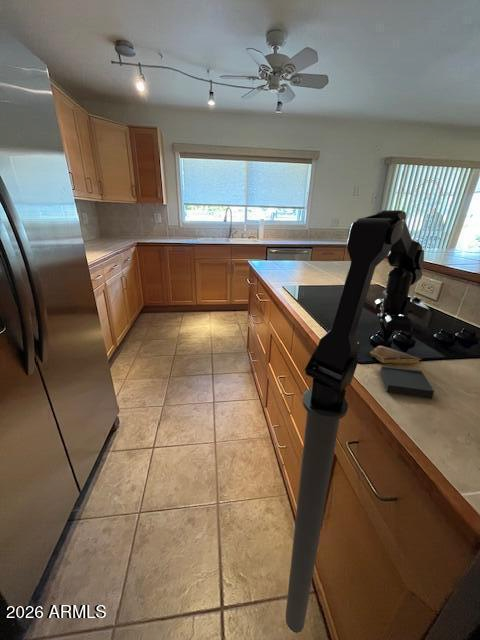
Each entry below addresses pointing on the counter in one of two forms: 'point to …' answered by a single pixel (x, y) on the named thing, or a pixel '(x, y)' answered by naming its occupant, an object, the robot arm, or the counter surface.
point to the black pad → (406, 382)
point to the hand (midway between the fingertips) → (385, 339)
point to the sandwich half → (392, 356)
